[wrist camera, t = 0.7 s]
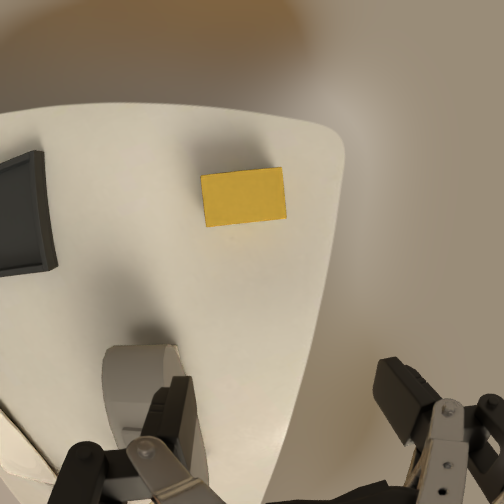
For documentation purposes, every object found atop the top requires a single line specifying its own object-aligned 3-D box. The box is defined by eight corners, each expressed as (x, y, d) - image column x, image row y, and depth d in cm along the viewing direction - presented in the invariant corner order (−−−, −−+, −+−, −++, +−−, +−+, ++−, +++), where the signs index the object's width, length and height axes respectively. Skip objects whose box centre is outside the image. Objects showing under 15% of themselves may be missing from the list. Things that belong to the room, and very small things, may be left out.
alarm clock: (125, 321, 31) (78, 386, 18) (177, 318, 31) (149, 389, 19) (170, 454, 36) (159, 520, 23) (210, 454, 36) (207, 522, 24)
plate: (0, 391, 33) (-8, 399, 30) (72, 481, 38) (68, 489, 35) (-46, 392, 33) (-52, 398, 30) (12, 469, 38) (8, 475, 35)
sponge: (209, 222, 29) (206, 227, 25) (204, 177, 28) (200, 175, 25) (279, 214, 30) (286, 218, 26) (275, 170, 29) (281, 166, 25)
